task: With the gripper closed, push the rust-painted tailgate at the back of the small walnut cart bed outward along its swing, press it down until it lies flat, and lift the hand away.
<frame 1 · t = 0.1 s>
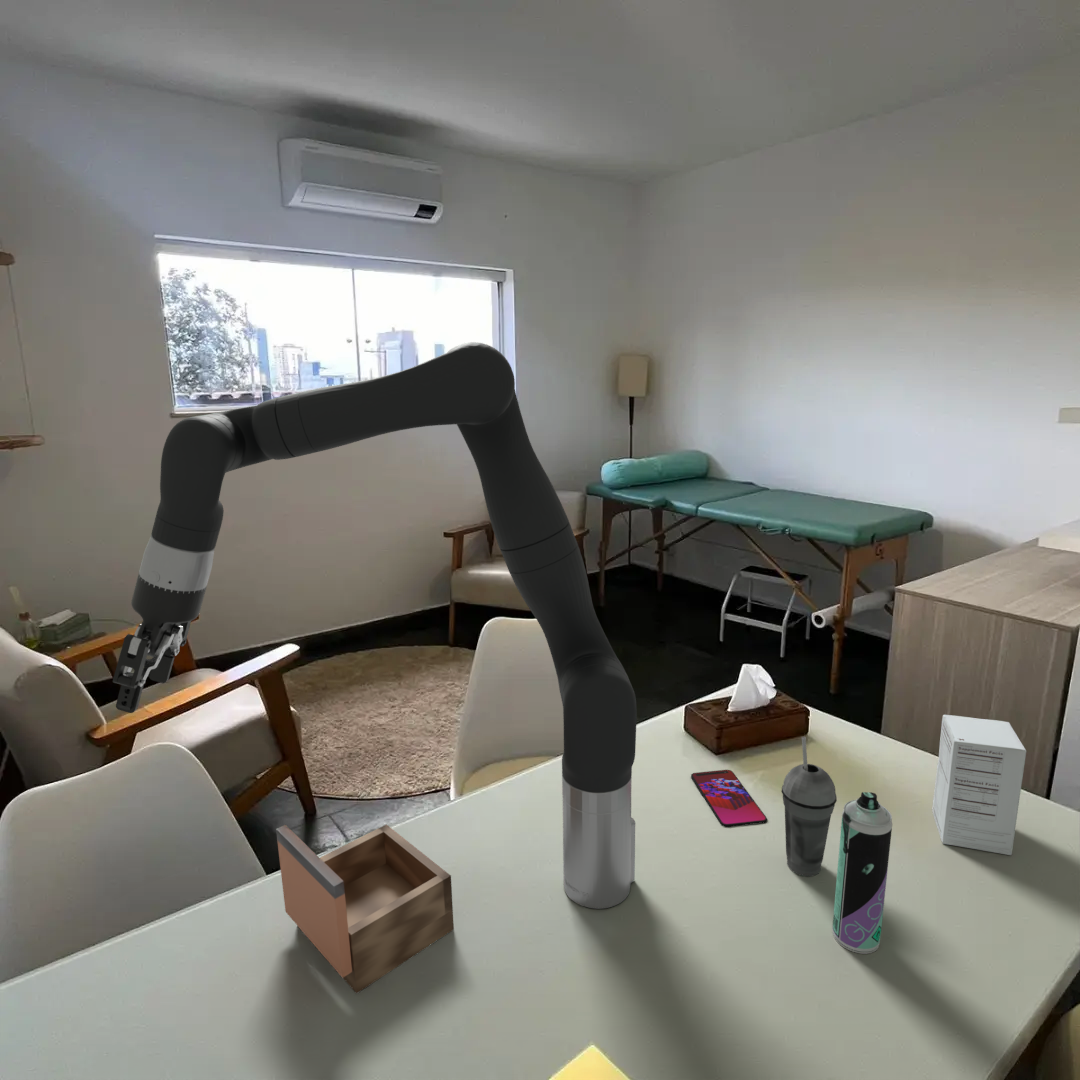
hand: (142, 694, 91), 31 cm above the table, tool tilted 20°, fingers open, 8 cm apart
supplement box: (969, 833, 111), on the table
beverage cup: (803, 866, 105), on the table
smartphone: (726, 800, 121), on the table
spray can: (855, 938, 92), on the table
cart bed: (375, 927, 95), on the table
tailgate: (312, 897, 87), point 9 cm above the table, hinge at 0.0°
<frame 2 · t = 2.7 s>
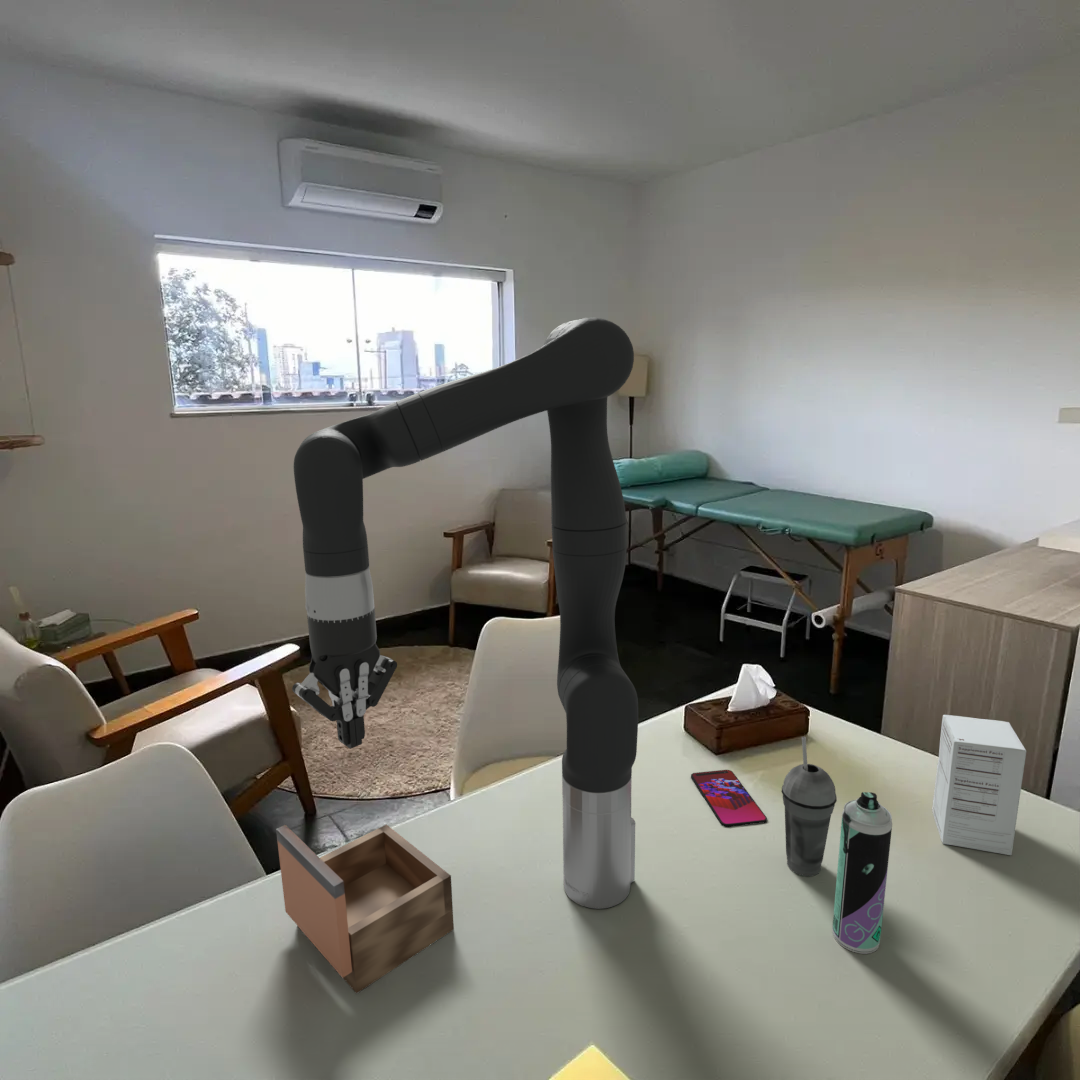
hand: (352, 744, 88), 26 cm above the table, tool pointing down, fingers closed
nothing on the table moved.
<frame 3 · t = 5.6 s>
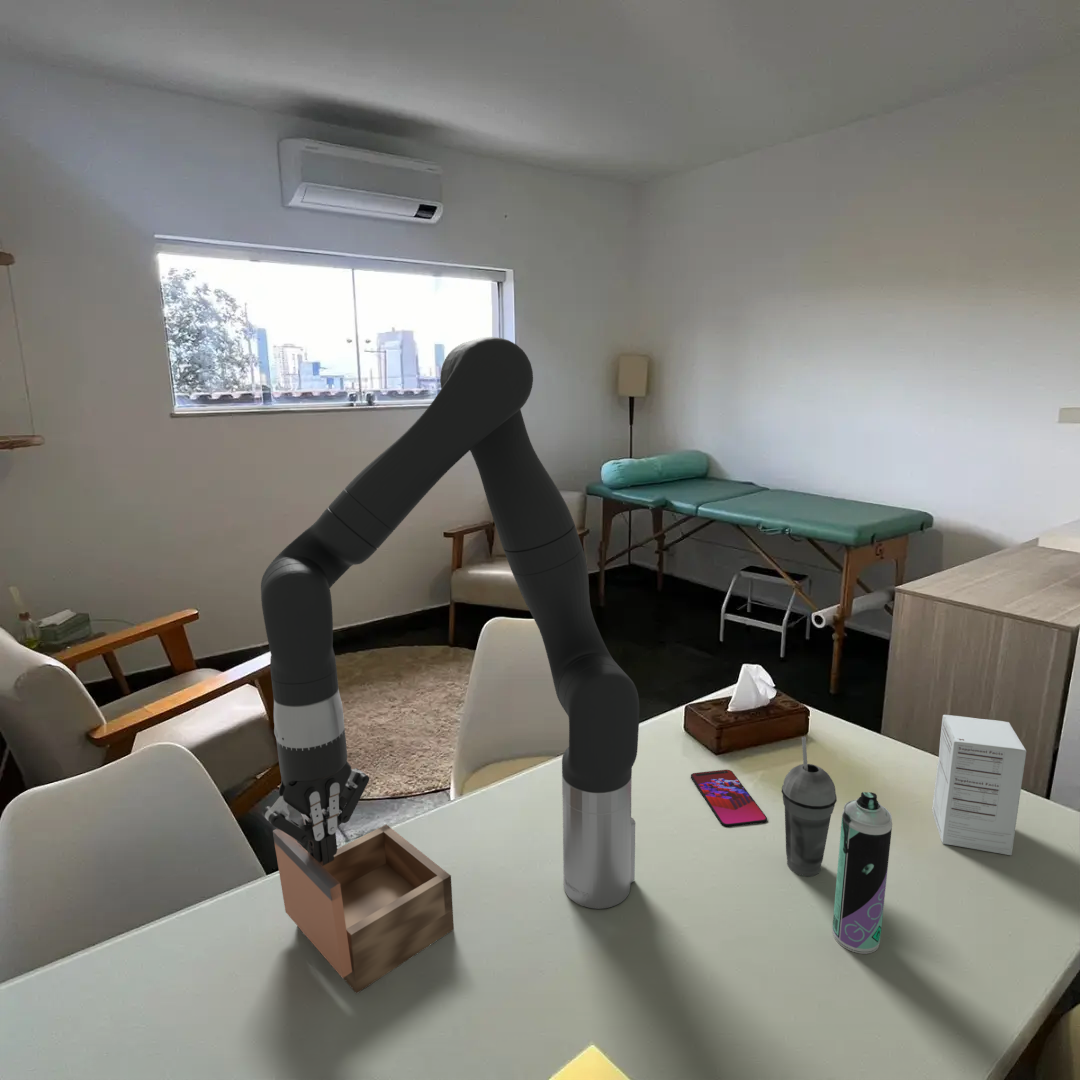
hand: (324, 860, 88), 13 cm above the table, tool pointing down, fingers closed
tailgate: (310, 898, 87), point 9 cm above the table, hinge at 2.2°, touching gripper
everything else where it was.
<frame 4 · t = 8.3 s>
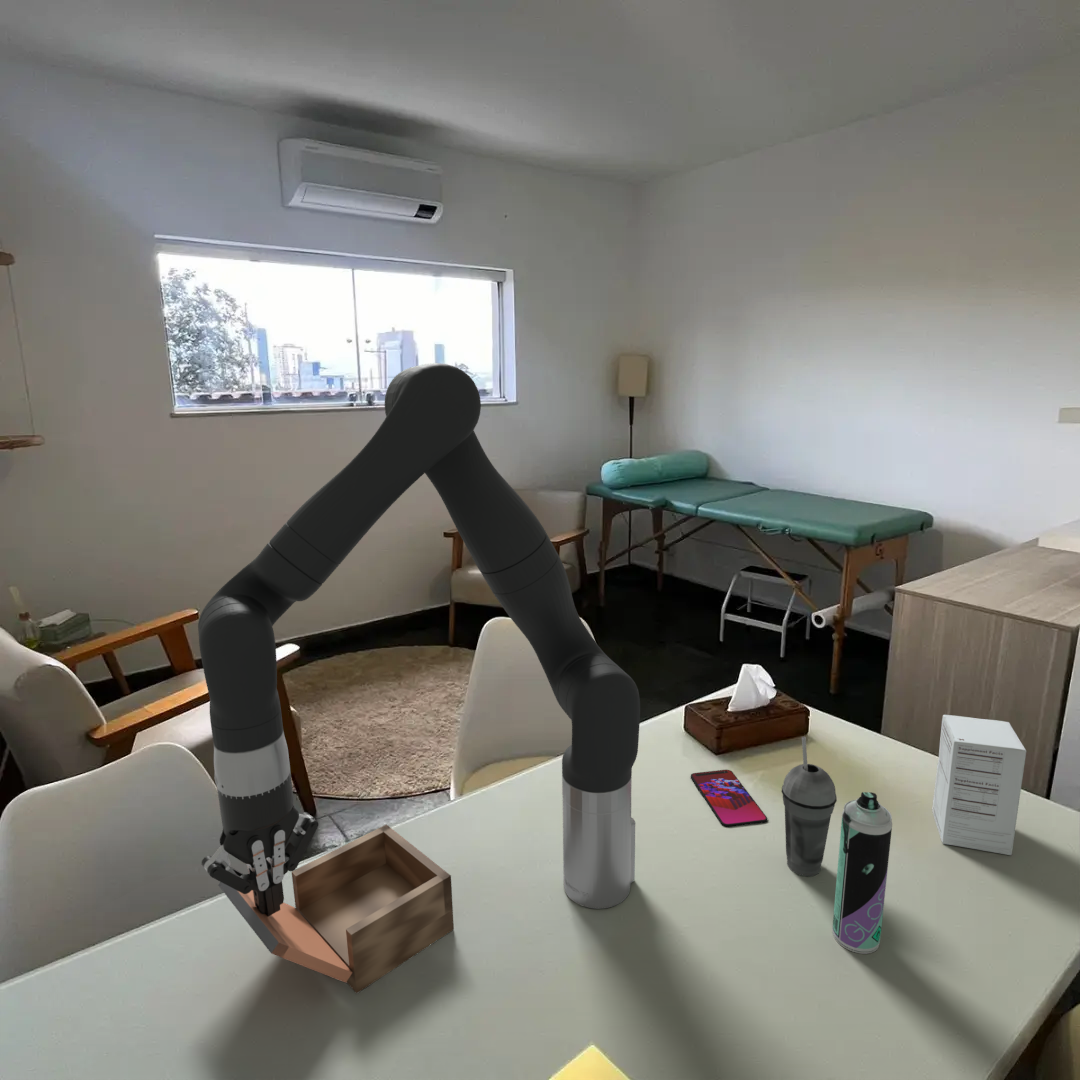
hand: (270, 909, 84), 10 cm above the table, tool pointing down, fingers closed
tailgate: (284, 928, 85), point 7 cm above the table, hinge at 40.8°, touching gripper
everything else where it was.
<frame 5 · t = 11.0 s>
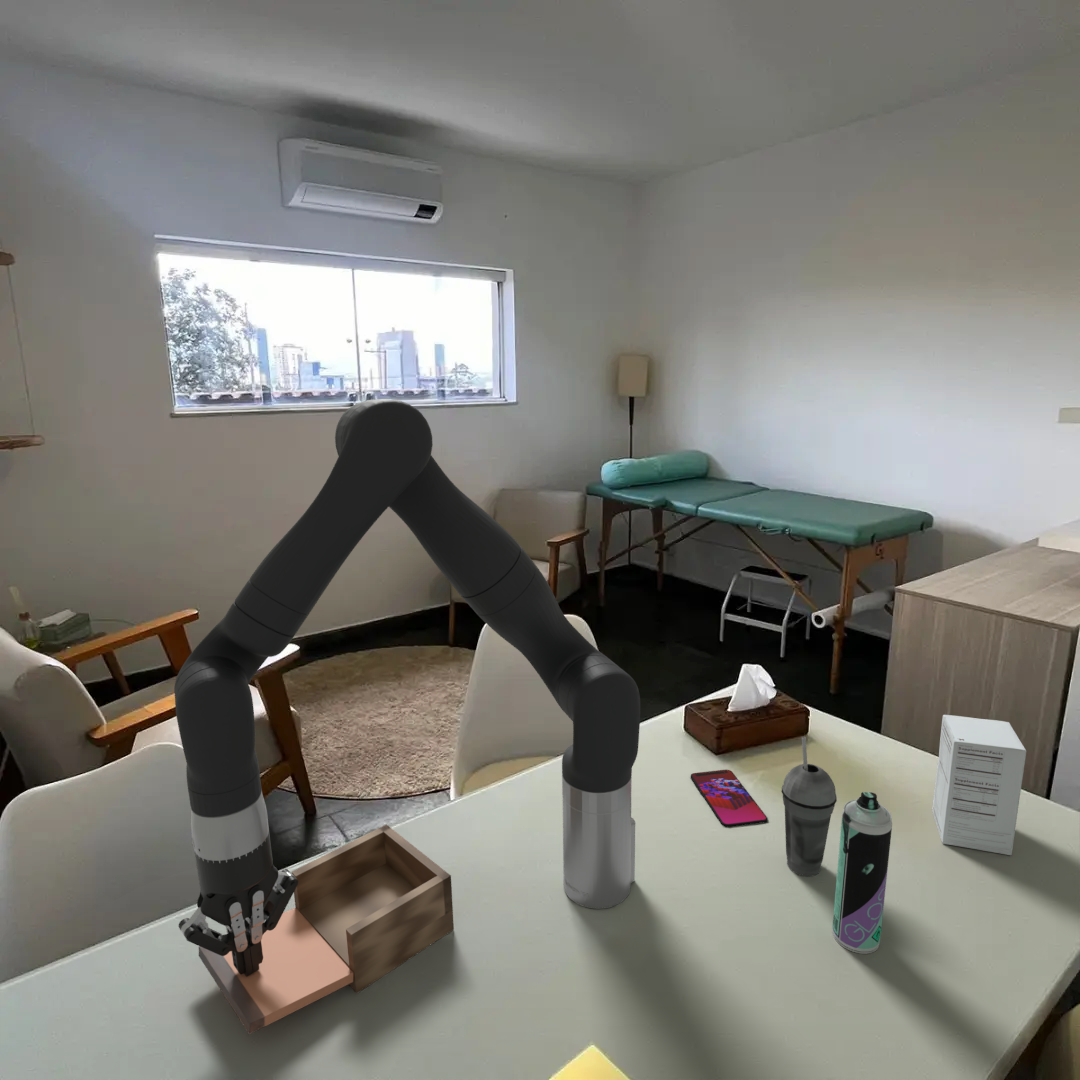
hand: (249, 969, 83), 4 cm above the table, tool pointing down, fingers closed
tailgate: (275, 964, 85), point 3 cm above the table, hinge at 81.9°, touching gripper
everything else where it was.
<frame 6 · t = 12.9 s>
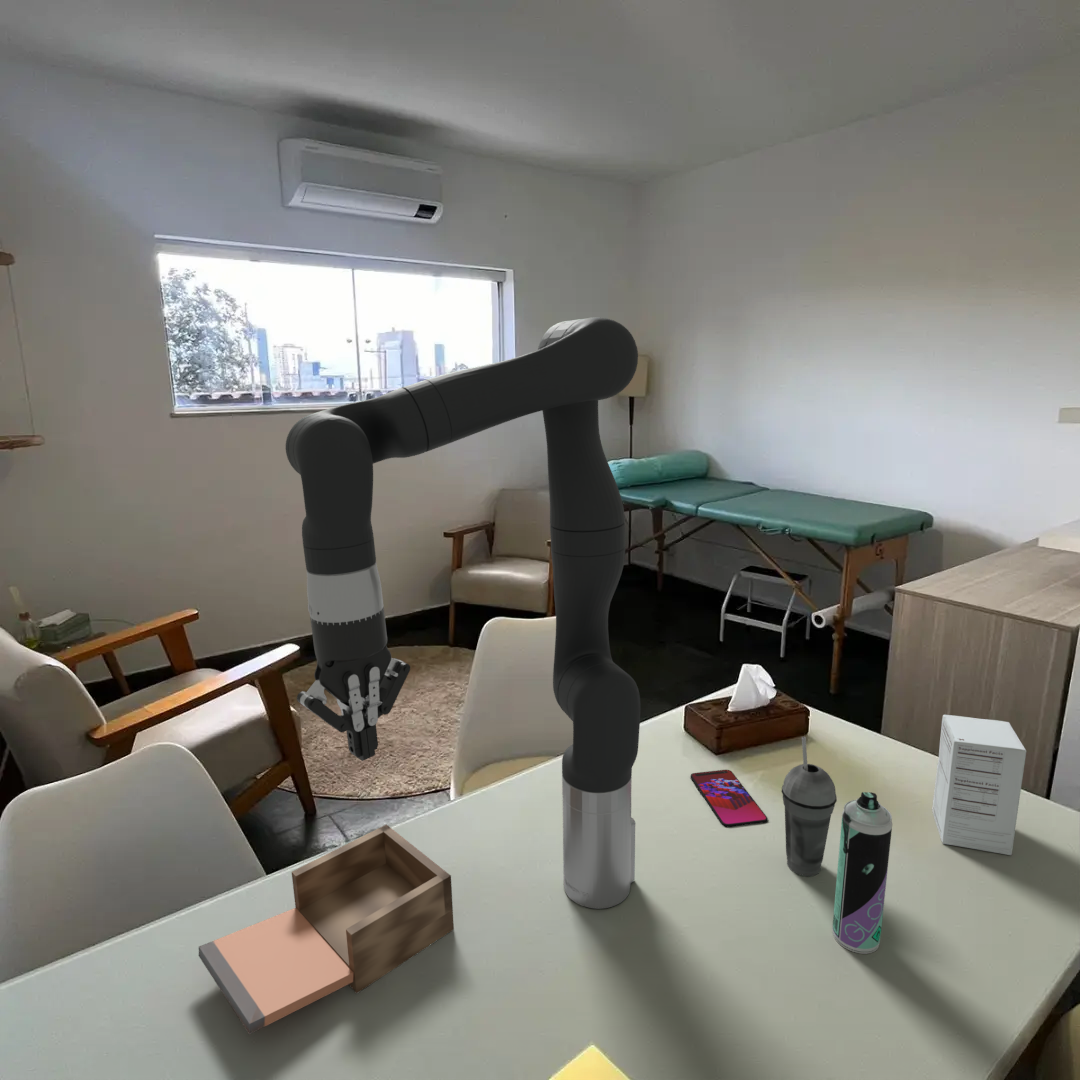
hand: (364, 755, 81), 29 cm above the table, tool pointing down, fingers closed
tailgate: (275, 964, 85), point 3 cm above the table, hinge at 81.9°
everything else where it was.
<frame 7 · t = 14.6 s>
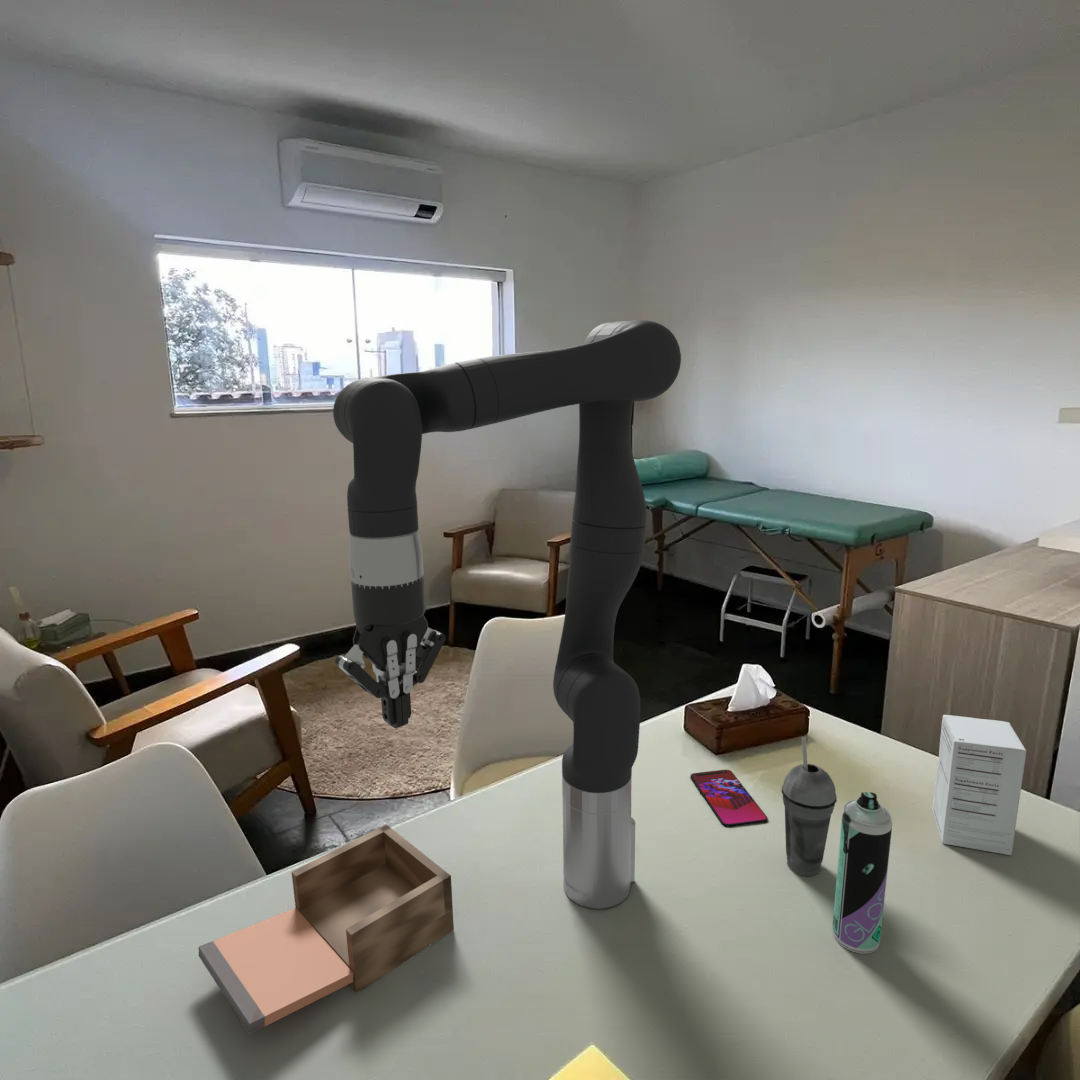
hand: (397, 723, 81), 32 cm above the table, tool pointing down, fingers closed
nothing on the table moved.
at the end: tailgate at +82° (first picture: +0°); beverage cup moved 0.2 cm from its start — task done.
